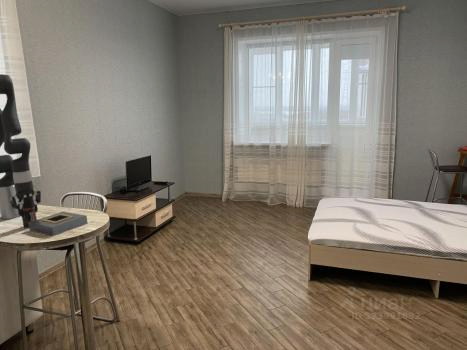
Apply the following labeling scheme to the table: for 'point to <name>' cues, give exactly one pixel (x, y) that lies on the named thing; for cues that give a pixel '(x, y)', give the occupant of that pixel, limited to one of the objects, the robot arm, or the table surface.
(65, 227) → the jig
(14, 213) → the robot arm
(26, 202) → the deodorant
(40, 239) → the table surface
